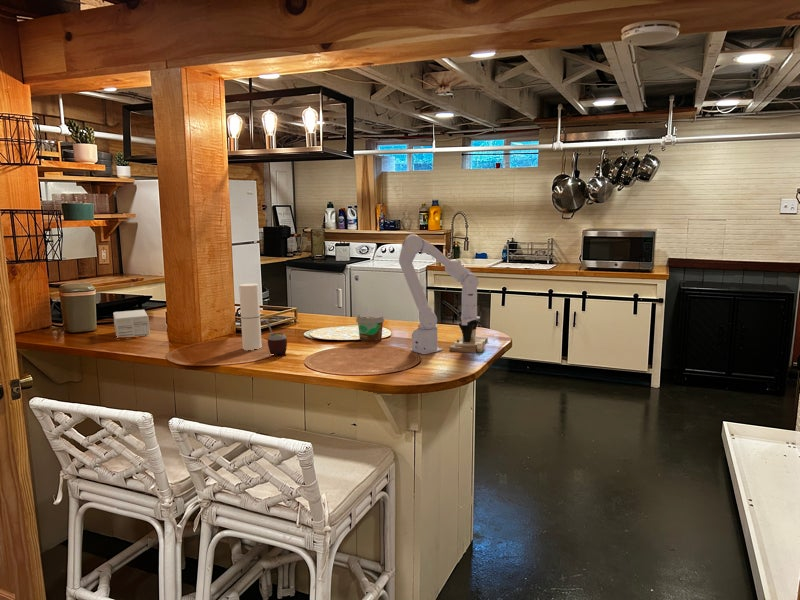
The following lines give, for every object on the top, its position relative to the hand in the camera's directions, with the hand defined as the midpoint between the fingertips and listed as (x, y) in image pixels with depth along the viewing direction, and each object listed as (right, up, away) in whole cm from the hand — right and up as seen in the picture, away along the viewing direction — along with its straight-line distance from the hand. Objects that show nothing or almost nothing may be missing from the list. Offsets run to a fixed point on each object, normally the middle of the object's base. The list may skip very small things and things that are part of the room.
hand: (469, 340), depth 220 cm
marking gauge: (0, -3, 0) cm, 3 cm away
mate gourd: (-72, -6, -5) cm, 72 cm away
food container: (-39, -2, +17) cm, 43 cm away
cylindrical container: (-84, -4, +7) cm, 84 cm away
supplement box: (-144, 0, +36) cm, 148 cm away
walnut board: (+1, -3, +7) cm, 7 cm away
